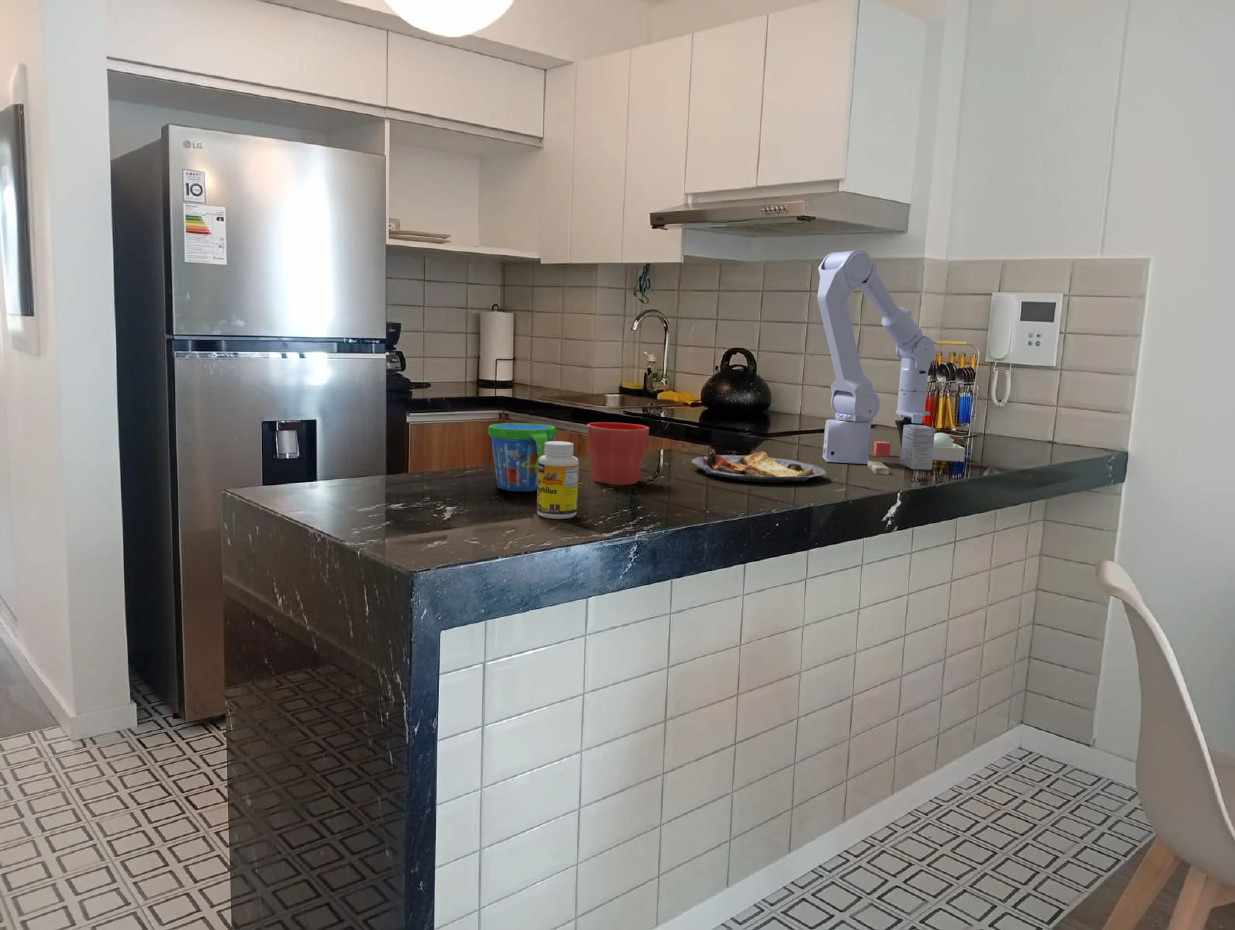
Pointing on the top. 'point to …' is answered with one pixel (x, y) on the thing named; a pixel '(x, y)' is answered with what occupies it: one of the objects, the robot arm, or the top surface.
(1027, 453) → the top surface
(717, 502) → the top surface
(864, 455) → the robot arm
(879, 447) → the red die
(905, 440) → the medicine box
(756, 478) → the food plate
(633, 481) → the flower pot
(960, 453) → the white square frame
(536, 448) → the snack cup
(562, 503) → the supplement bottle
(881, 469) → the game track
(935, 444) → the pale green ball
